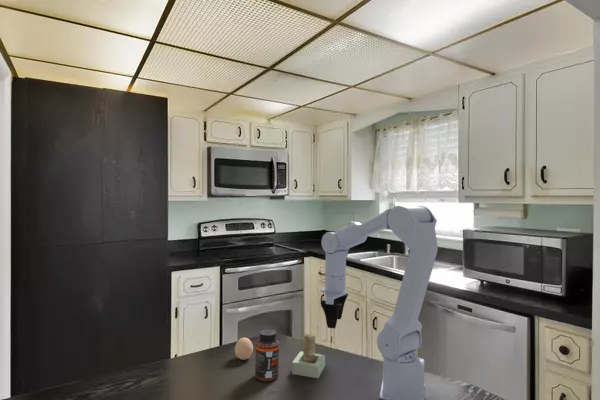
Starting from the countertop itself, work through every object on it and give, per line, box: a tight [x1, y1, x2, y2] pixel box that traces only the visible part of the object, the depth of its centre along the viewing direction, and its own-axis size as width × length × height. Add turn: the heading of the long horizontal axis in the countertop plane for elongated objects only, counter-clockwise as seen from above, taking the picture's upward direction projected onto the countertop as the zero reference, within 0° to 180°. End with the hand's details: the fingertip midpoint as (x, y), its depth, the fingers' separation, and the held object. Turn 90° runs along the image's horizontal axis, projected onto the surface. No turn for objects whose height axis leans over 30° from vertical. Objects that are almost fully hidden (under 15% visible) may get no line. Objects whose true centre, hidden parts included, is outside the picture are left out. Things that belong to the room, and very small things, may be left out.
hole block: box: [291, 350, 326, 379], centre depth 94 cm, size 7×7×3 cm
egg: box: [234, 337, 254, 361], centre depth 99 cm, size 5×5×6 cm
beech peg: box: [303, 333, 316, 364], centre depth 94 cm, size 3×3×9 cm
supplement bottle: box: [254, 329, 280, 382], centre depth 90 cm, size 6×6×11 cm
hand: (334, 323), depth 100 cm, fingers open, 7 cm apart
